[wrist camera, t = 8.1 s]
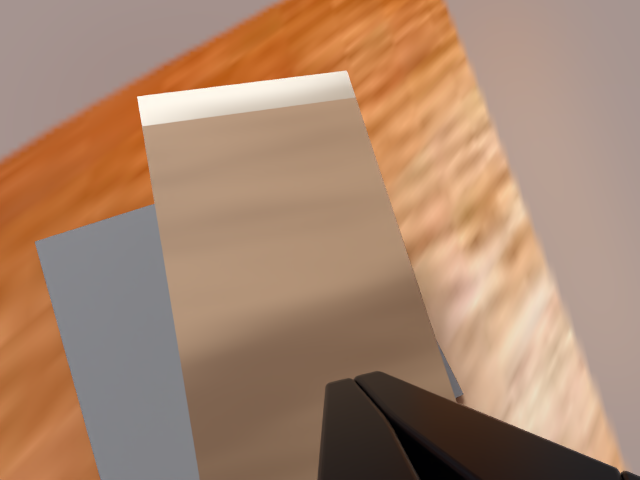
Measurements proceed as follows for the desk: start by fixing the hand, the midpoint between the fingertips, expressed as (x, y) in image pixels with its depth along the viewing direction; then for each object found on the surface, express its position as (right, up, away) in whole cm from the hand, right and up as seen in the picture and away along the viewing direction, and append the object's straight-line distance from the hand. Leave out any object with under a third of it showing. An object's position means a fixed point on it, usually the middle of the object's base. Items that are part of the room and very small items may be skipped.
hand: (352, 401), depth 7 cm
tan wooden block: (0, -4, +4) cm, 5 cm away
